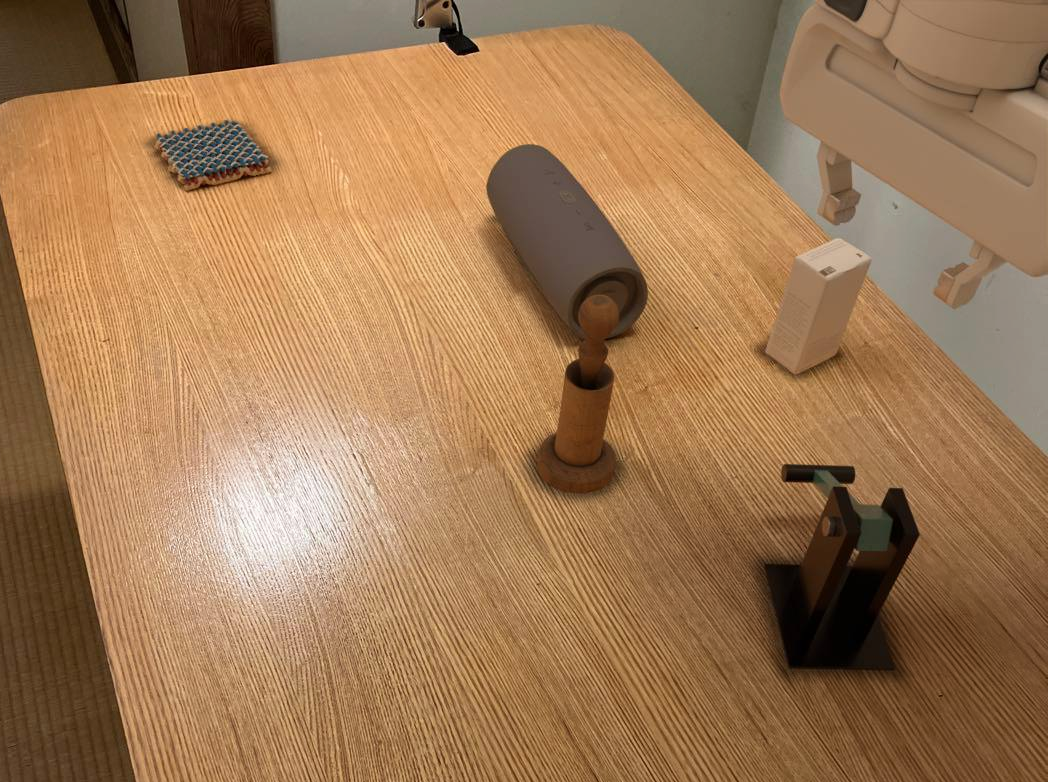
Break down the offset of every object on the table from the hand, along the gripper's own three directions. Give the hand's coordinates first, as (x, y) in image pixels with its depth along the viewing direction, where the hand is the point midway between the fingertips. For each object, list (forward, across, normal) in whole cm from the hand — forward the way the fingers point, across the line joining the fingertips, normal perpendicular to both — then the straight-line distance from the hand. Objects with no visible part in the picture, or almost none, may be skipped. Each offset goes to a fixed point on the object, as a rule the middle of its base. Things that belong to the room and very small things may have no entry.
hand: (890, 257), depth 63 cm
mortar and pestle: (+30, +17, +7) cm, 35 cm away
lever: (+22, -2, -3) cm, 22 cm away
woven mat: (+30, +79, +14) cm, 85 cm away
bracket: (+30, -5, -1) cm, 30 cm away
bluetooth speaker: (+30, +41, -8) cm, 51 cm away
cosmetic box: (+30, +20, -21) cm, 42 cm away
